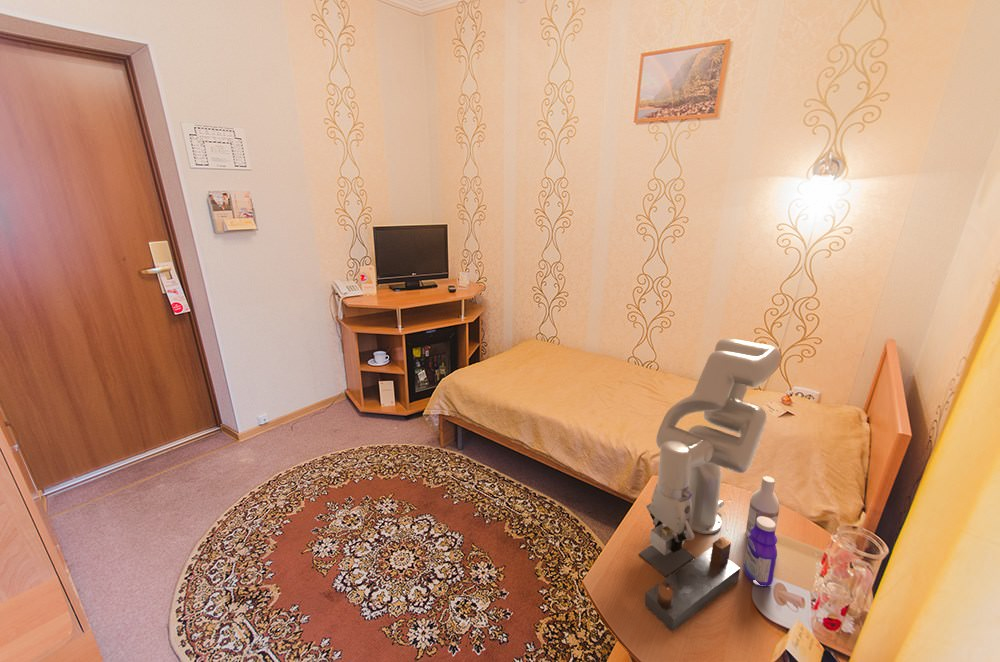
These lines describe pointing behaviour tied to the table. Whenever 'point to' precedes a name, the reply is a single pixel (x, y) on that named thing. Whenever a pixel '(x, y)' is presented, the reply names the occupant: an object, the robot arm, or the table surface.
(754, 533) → the bottle
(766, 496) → the bath foam
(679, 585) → the body
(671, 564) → the rubber mat
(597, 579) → the table surface
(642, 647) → the table surface
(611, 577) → the table surface
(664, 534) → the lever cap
